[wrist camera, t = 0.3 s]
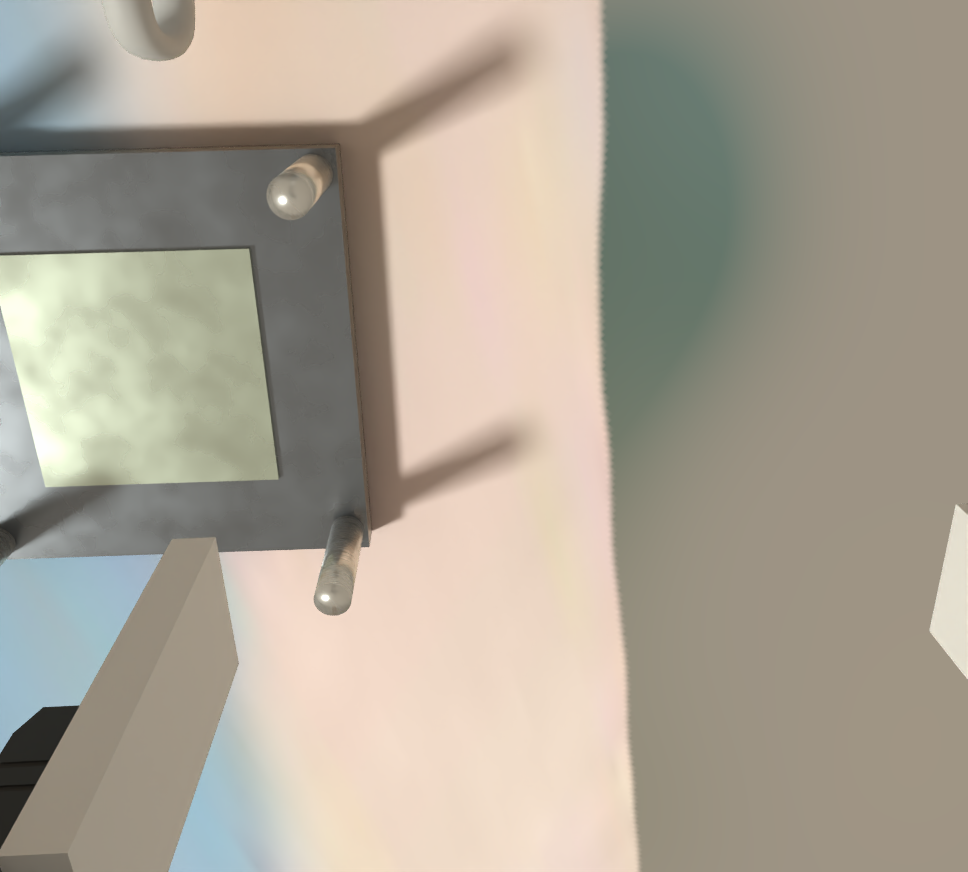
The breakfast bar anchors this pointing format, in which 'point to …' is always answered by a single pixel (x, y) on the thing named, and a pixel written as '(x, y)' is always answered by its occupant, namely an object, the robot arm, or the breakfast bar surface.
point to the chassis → (180, 356)
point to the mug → (152, 26)
